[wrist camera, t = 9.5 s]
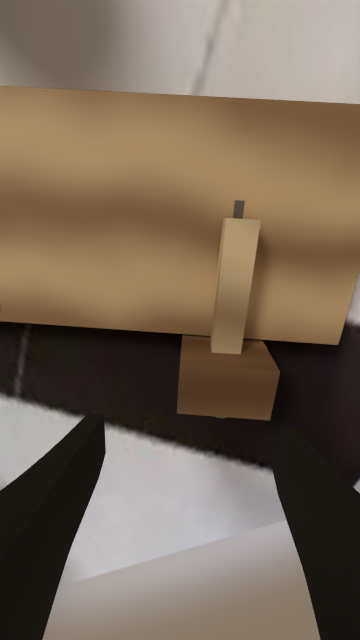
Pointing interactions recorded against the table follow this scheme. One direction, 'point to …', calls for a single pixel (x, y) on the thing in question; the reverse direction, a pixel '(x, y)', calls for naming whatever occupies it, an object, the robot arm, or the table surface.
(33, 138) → the oak board
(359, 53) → the table surface
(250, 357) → the brown block with bar
